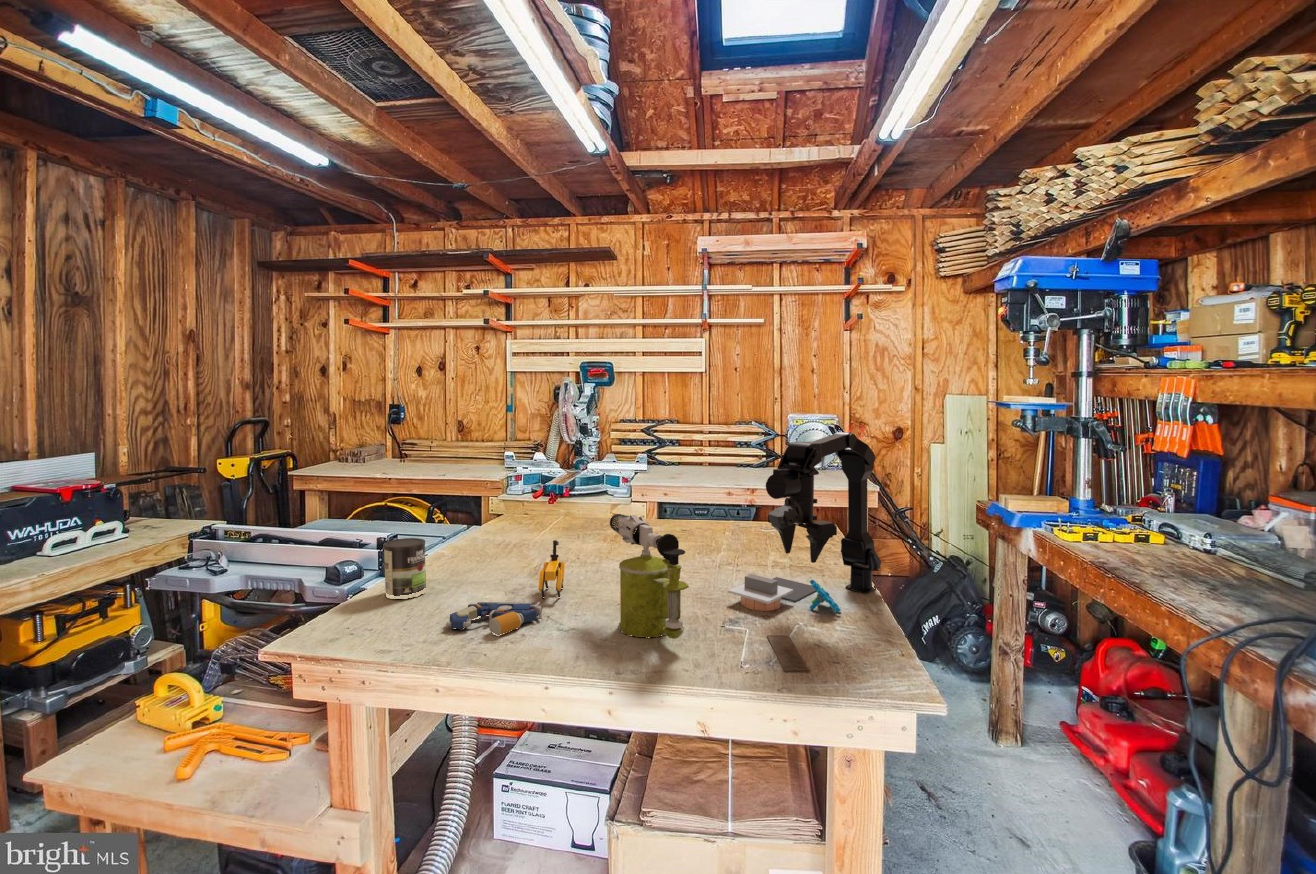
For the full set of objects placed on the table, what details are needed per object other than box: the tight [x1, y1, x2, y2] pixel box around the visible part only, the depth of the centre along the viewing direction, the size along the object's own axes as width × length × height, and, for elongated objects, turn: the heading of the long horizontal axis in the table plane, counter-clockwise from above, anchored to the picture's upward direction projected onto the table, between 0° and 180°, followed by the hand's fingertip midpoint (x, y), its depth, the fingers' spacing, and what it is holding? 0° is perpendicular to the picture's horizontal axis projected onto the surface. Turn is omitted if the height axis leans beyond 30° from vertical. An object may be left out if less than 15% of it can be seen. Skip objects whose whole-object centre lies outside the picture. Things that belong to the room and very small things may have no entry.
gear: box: [808, 579, 842, 613], centre depth 145 cm, size 11×6×10 cm
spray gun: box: [445, 601, 543, 635], centre depth 136 cm, size 21×4×15 cm
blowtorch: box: [609, 513, 690, 640], centre depth 133 cm, size 13×33×25 cm, turn 28°
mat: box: [772, 576, 817, 603], centre depth 160 cm, size 14×14×1 cm
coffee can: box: [383, 537, 427, 596], centre depth 156 cm, size 10×10×14 cm
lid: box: [727, 573, 793, 604], centre depth 149 cm, size 12×12×4 cm
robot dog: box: [538, 539, 566, 598], centre depth 158 cm, size 6×18×13 cm, turn 4°
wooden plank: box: [766, 634, 810, 673], centre depth 121 cm, size 17×1×5 cm
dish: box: [740, 596, 782, 612], centre depth 149 cm, size 10×10×3 cm
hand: (800, 557), depth 142 cm, fingers open, 9 cm apart
